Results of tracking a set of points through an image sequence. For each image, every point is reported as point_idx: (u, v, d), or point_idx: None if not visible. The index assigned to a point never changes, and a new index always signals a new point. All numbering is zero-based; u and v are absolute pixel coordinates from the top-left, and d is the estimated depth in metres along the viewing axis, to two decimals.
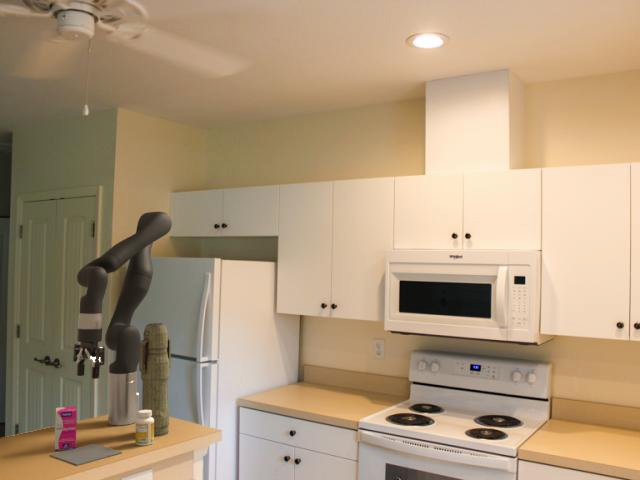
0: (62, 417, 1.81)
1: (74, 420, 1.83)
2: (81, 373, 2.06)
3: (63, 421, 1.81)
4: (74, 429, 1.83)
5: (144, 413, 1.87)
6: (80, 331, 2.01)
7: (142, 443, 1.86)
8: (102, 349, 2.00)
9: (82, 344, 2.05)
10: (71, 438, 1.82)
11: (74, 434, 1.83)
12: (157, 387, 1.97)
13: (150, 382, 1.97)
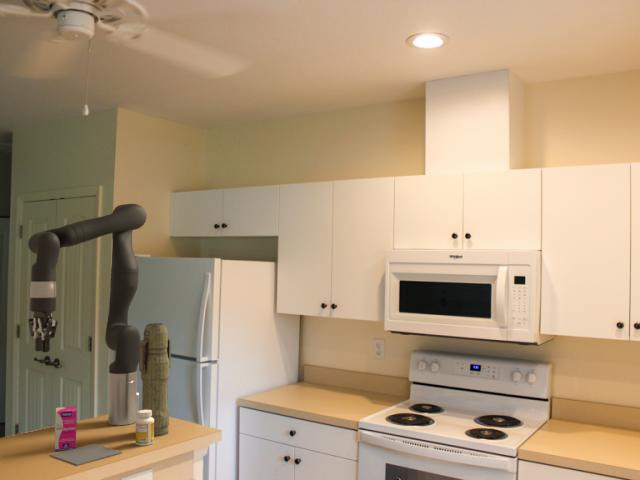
0: (62, 417, 1.81)
1: (74, 420, 1.83)
2: (39, 348, 1.95)
3: (63, 421, 1.81)
4: (74, 429, 1.83)
5: (144, 413, 1.87)
6: (32, 300, 1.91)
7: (142, 443, 1.86)
8: (55, 324, 1.90)
9: (35, 313, 1.95)
10: (71, 438, 1.82)
11: (74, 434, 1.83)
12: (157, 387, 1.97)
13: (150, 382, 1.97)
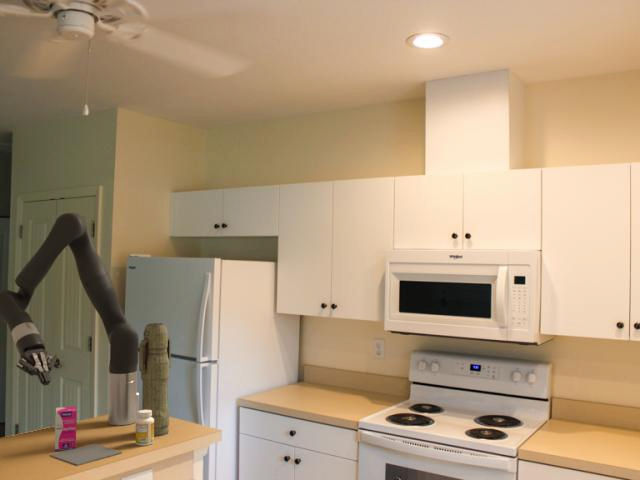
0: (62, 417, 1.81)
1: (74, 420, 1.83)
2: None
3: (63, 421, 1.81)
4: (74, 429, 1.83)
5: (144, 413, 1.87)
6: None
7: (142, 443, 1.86)
8: (20, 364, 1.90)
9: None
10: (71, 438, 1.82)
11: (74, 434, 1.83)
12: (157, 387, 1.97)
13: (150, 382, 1.97)
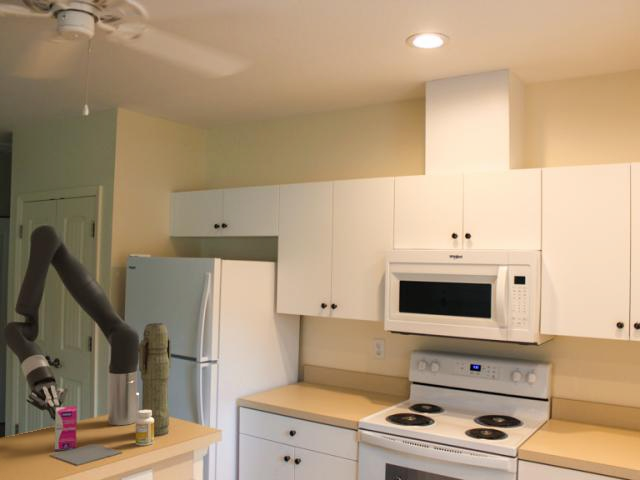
0: (62, 417, 1.81)
1: (74, 420, 1.82)
2: None
3: (63, 421, 1.81)
4: (74, 429, 1.83)
5: (144, 413, 1.87)
6: None
7: (142, 443, 1.86)
8: (30, 398, 1.86)
9: None
10: (71, 438, 1.82)
11: (74, 434, 1.82)
12: (157, 387, 1.97)
13: (150, 382, 1.97)
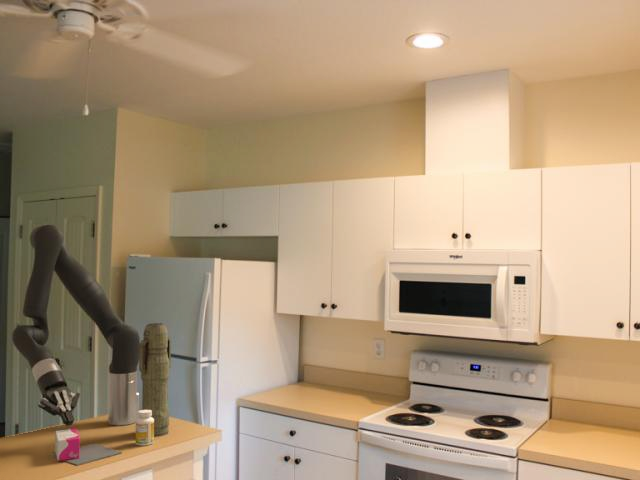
0: None
1: None
2: None
3: None
4: None
5: (144, 413, 1.87)
6: None
7: (142, 443, 1.86)
8: (42, 404, 1.82)
9: None
10: None
11: None
12: (157, 387, 1.97)
13: (150, 382, 1.97)
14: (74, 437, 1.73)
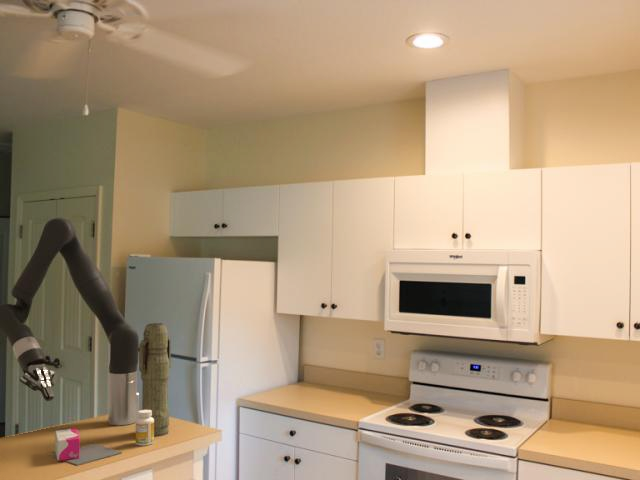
0: None
1: None
2: None
3: None
4: None
5: (144, 413, 1.87)
6: None
7: (142, 443, 1.86)
8: (24, 379, 1.89)
9: None
10: None
11: None
12: (157, 387, 1.97)
13: (150, 382, 1.97)
14: (74, 437, 1.73)
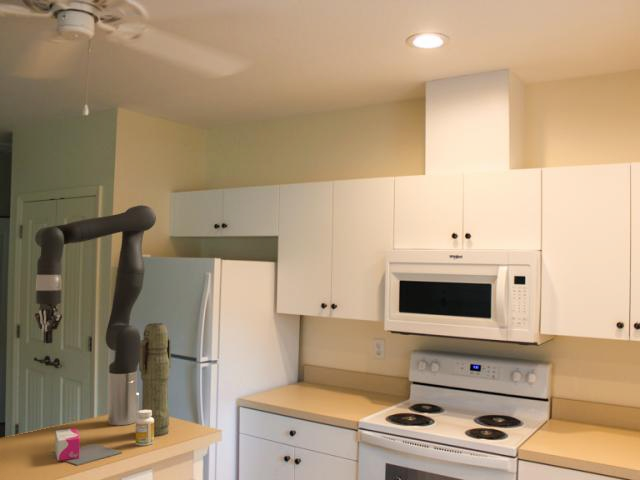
0: None
1: None
2: None
3: None
4: None
5: (144, 413, 1.87)
6: (38, 293, 1.97)
7: (142, 443, 1.86)
8: (59, 318, 1.96)
9: (40, 305, 2.01)
10: None
11: None
12: (157, 387, 1.97)
13: (150, 382, 1.97)
14: (74, 437, 1.73)
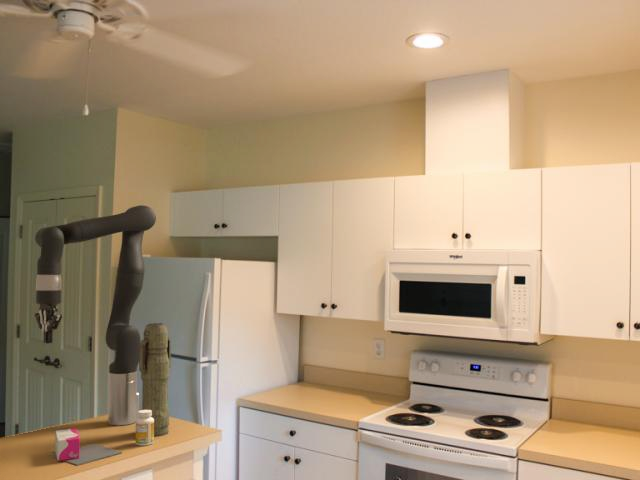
0: None
1: None
2: None
3: None
4: None
5: (144, 413, 1.87)
6: (38, 293, 1.97)
7: (142, 443, 1.86)
8: (59, 318, 1.96)
9: (40, 305, 2.01)
10: None
11: None
12: (157, 387, 1.97)
13: (150, 382, 1.97)
14: (74, 437, 1.73)
